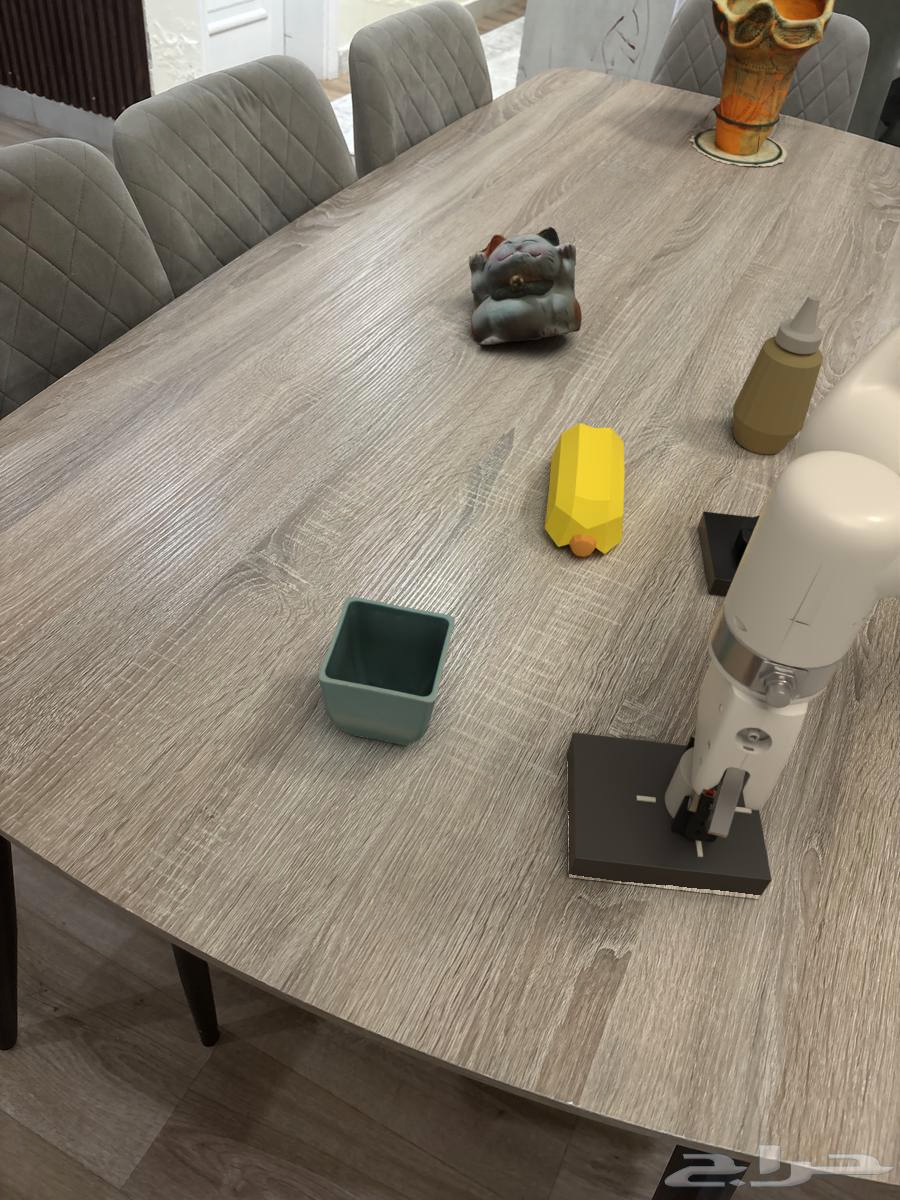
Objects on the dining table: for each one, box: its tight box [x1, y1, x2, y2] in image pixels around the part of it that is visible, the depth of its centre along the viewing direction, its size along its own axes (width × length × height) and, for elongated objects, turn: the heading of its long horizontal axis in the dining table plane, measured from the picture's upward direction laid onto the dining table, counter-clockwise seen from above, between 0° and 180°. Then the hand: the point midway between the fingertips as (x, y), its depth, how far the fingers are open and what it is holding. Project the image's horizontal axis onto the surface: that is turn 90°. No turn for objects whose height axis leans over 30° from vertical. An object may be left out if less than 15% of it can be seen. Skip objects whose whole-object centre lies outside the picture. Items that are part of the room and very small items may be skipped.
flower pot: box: [317, 596, 456, 746], centre depth 74 cm, size 9×9×9 cm
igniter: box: [697, 511, 760, 598], centre depth 93 cm, size 12×10×4 cm
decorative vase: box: [688, 0, 836, 168], centre depth 165 cm, size 21×23×28 cm
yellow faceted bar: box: [544, 422, 626, 558], centre depth 96 cm, size 18×7×8 cm
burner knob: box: [665, 747, 716, 818], centre depth 68 cm, size 4×4×5 cm
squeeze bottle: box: [732, 294, 824, 455], centre depth 103 cm, size 8×8×18 cm
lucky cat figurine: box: [468, 226, 583, 347], centre depth 118 cm, size 15×12×14 cm
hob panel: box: [566, 731, 773, 896], centre depth 71 cm, size 14×11×3 cm
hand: (695, 802), depth 70 cm, fingers closed on burner knob, 4 cm apart
